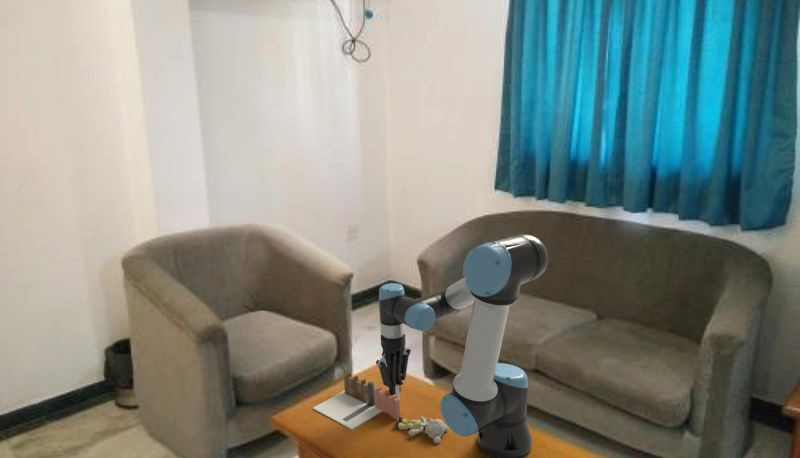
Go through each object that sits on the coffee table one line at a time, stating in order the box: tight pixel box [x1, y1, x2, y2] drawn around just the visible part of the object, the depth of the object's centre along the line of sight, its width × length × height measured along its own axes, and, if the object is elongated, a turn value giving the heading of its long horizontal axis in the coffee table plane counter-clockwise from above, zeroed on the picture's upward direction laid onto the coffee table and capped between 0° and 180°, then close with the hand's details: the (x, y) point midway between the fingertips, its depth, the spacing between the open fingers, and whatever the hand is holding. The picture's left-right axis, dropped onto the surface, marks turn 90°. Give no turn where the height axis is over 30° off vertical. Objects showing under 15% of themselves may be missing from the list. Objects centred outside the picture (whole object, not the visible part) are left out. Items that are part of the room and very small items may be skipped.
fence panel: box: [374, 385, 401, 419], centre depth 182 cm, size 10×1×7 cm, turn 45°
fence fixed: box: [343, 372, 375, 406], centre depth 191 cm, size 13×2×8 cm, turn 48°
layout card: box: [312, 390, 383, 430], centre depth 188 cm, size 18×18×1 cm
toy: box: [394, 416, 450, 444], centre depth 174 cm, size 9×6×15 cm
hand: (395, 403), depth 185 cm, fingers closed
